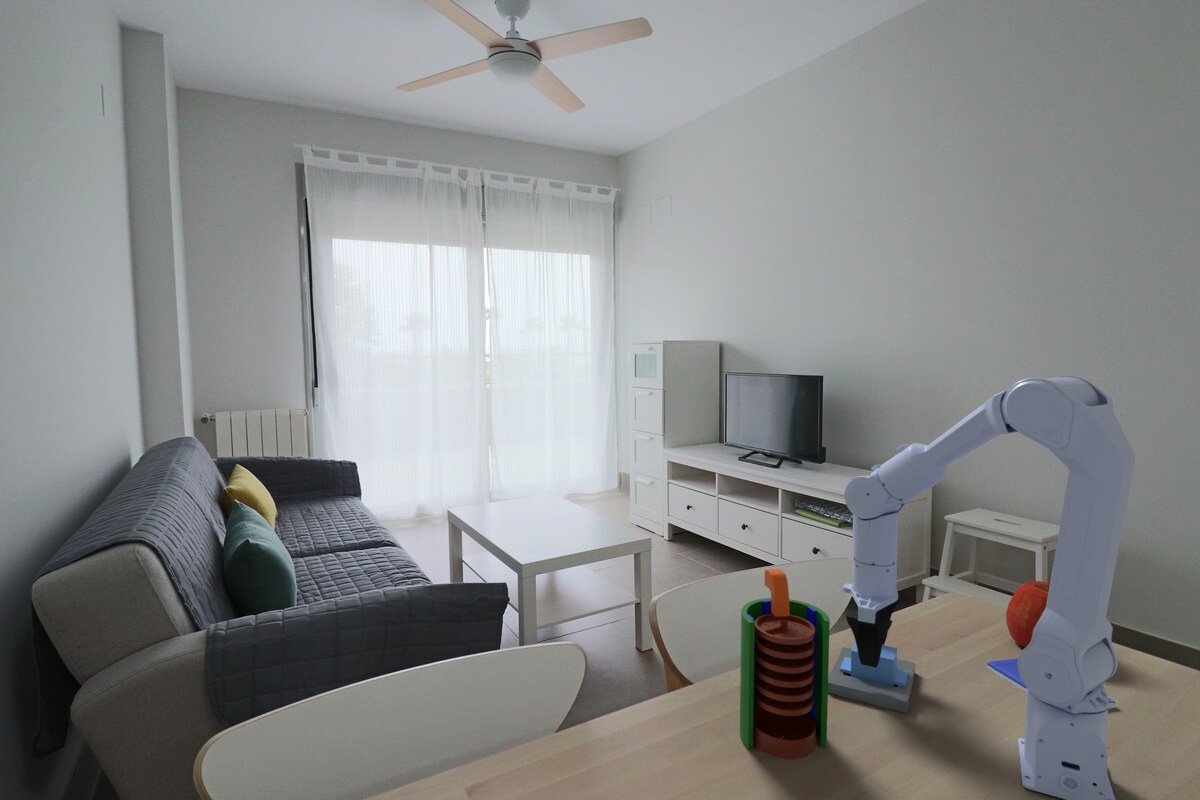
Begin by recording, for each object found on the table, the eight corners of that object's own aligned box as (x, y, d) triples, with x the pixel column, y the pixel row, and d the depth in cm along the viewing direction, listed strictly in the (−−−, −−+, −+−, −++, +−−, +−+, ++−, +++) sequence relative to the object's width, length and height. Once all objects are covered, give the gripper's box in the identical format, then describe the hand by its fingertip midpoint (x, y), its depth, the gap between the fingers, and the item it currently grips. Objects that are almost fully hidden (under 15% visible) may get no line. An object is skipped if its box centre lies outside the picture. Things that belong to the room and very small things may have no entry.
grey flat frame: (906, 713, 81) (907, 702, 81) (826, 692, 86) (826, 682, 86) (914, 672, 91) (915, 662, 91) (842, 656, 96) (842, 647, 96)
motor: (761, 766, 71) (762, 595, 70) (725, 722, 80) (725, 569, 78) (838, 750, 74) (840, 585, 72) (795, 709, 82) (796, 561, 81)
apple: (1040, 666, 93) (1043, 596, 92) (988, 634, 104) (990, 571, 103) (1106, 662, 94) (1110, 593, 93) (1048, 630, 105) (1051, 568, 104)
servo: (905, 698, 85) (906, 657, 84) (839, 681, 89) (840, 642, 89) (908, 684, 88) (909, 645, 88) (844, 669, 93) (845, 631, 92)
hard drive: (1115, 700, 82) (1034, 655, 94) (1063, 707, 80) (986, 661, 92) (1115, 711, 82) (1033, 666, 94) (1062, 719, 80) (986, 671, 92)
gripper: (852, 542, 96) (851, 628, 97) (834, 570, 83) (833, 668, 84) (903, 548, 92) (902, 638, 93) (892, 579, 80) (890, 681, 81)
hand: (873, 653), depth 88 cm, fingers open, 7 cm apart
